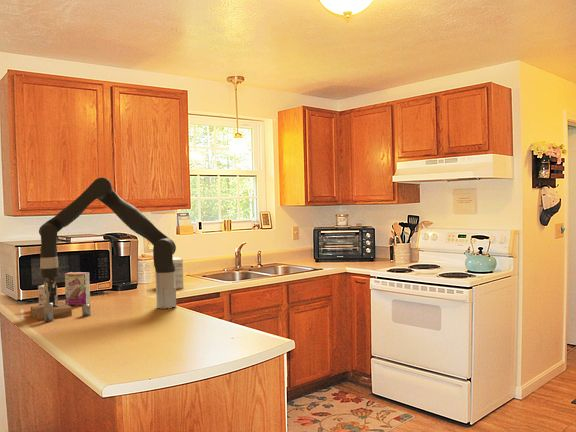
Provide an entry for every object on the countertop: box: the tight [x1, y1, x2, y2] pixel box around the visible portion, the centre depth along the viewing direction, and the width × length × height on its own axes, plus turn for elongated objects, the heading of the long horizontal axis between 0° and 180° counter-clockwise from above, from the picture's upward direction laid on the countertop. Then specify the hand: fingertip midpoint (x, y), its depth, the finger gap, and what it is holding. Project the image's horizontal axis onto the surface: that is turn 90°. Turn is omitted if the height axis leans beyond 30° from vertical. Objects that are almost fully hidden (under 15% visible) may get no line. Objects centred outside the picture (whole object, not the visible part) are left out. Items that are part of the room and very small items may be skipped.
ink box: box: [37, 284, 59, 305], centre depth 251 cm, size 9×5×12 cm, turn 62°
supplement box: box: [173, 256, 184, 290], centre depth 307 cm, size 13×13×18 cm
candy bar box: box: [64, 271, 91, 306], centre depth 260 cm, size 11×5×16 cm, turn 84°
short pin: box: [81, 303, 92, 318], centre depth 232 cm, size 4×4×5 cm
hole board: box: [30, 301, 73, 322], centre depth 235 cm, size 16×14×4 cm
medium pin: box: [43, 302, 54, 323], centre depth 222 cm, size 4×4×8 cm
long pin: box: [46, 287, 55, 307], centre depth 235 cm, size 4×4×12 cm
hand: (50, 303), depth 235 cm, fingers closed on long pin, 3 cm apart
